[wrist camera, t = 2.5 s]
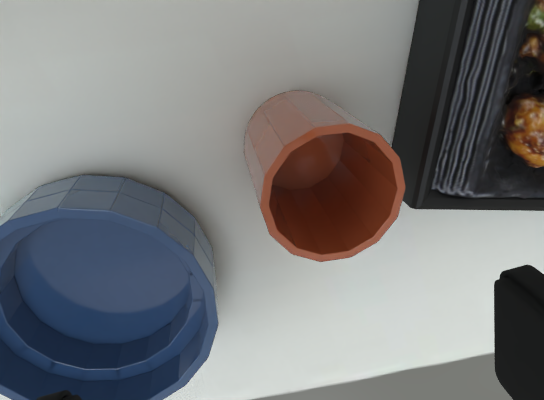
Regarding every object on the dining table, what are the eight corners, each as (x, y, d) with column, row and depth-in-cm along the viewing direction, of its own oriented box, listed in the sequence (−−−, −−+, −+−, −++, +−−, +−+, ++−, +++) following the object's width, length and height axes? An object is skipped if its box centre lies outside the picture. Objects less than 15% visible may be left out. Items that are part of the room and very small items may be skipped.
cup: (299, 65, 26) (343, 90, 18) (366, 143, 29) (432, 195, 20) (221, 142, 27) (229, 198, 19) (292, 210, 30) (326, 285, 22)
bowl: (87, 123, 26) (59, 150, 21) (257, 265, 31) (268, 314, 26) (-57, 278, 28) (-113, 336, 23) (124, 385, 34) (110, 450, 29)
